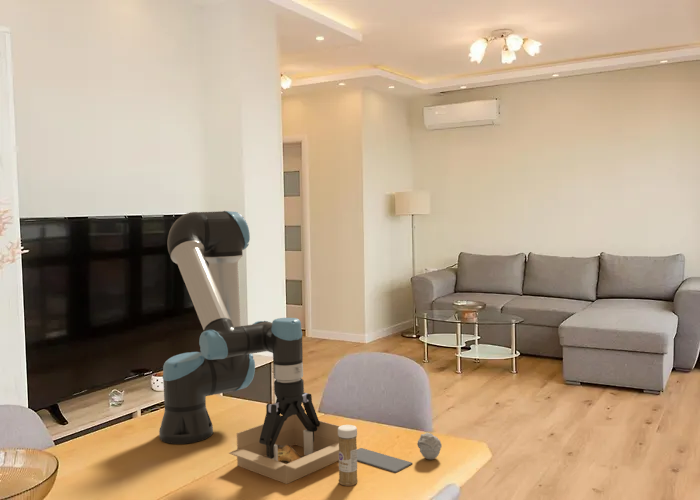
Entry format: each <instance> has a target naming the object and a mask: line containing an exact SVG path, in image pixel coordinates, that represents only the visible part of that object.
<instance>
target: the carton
mask: <svg viewBox="0 0 700 500" xmlns="http://www.w3.org/2000/svg"><path fill="white" fill-rule="evenodd" d="M319 423H320V425H319V427H317V431H314V442H313V453H312V454H309V455H307V456H306V455H303V456H304V457H302V458H300V459H297V460H295V461H293V462H290V463H288V462H287V463H286V462H285V463H284V462H283V461H276V460H273V459H270V458H267V453H266V445H264V444H260V443H259V440H260V436H261V432H262V428H263V424H264V423H262V424H259V425H257V426H254V427H251V428H248V429H245V430H242V431H239V432H237V433H236V449H234V450H231V451H230V452H228V454H230V455H233V456H235V457H236V460H237V462H236V465H237V467H240V468H243V469H245V470H248V471H251V472H253V473H256V474H258V475H259V474H260V475H262V476H264V477H267V478H270V479H272V480H275V481H279V482H281V483H283V484H286V485H288V484H290V483H292V482H294V481H296V480H298V479H301V478H303V477H305V476H307V475H311V474H312V473H315V472H317V471H318V470H321V469H324V468H325V467H327V466H329V465H333V464H334V463H336V462H339V437H338V427H339V426H340V425H337V424H335V423H329V422H326V421H323V420H319ZM304 430H307V429H306V428H305V427H304V425H303V424H302V422H301V421H300V420H299V418H298V417H297V415H292V416H290V417H288V418H287V420H286V421H284V424H283V426H282V428H281V431H280V433H279V435H278V438H277V440H276V442H275V444H276V445H280V446H286V445H287V444H289V445H290V446H291V447H292V446H297V447H298V446H299V447H302V448H304V433H303V431H304Z"/></svg>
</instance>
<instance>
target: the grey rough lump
mask: <svg viewBox="0 0 700 500" xmlns="http://www.w3.org/2000/svg"><path fill="white" fill-rule="evenodd" d="M416 444H417V447H418V449H419V452H420V454H421V455H422V457H423V458H424V459H427V460H434V459H437V457H438V456H439V454H440V452H441V449H442V443H441V440H440V439H439V437H438V436H436V435H434V434H433V433H432V432H430V433H429V432H425V433H421V434H420V437H419V439H418V440H417V443H416Z"/></svg>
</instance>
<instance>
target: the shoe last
mask: <svg viewBox="0 0 700 500" xmlns="http://www.w3.org/2000/svg"><path fill="white" fill-rule="evenodd" d="M277 446H278V461H279V462H283V463H284V462H285V463H287V464H288V463H290V462H293V461H295V460H297V459H300V458H302V457H304V456H305V455H301V454H299V453H298V452H297V451H296V450H295V449H294V448H293V447H292V446H290V445H289V444H287V445H286V446H280V445H277Z"/></svg>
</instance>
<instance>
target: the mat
mask: <svg viewBox="0 0 700 500" xmlns="http://www.w3.org/2000/svg"><path fill="white" fill-rule="evenodd" d="M357 462H358V463H362V464H366V465H368V466H372V467H375V468H379V469H382V470H385V471H388V472H391V473H395V474H396V473H398V472H400V471H403V470H404V469H406V468H408V467H409V466H411V465H413V462H412V461H408V460H405V459H401V458H397V457H395V456H390V455H388V454H384V453H381V452H377V451H375V450H370V449H366V448H363V447H359V448H357Z"/></svg>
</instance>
